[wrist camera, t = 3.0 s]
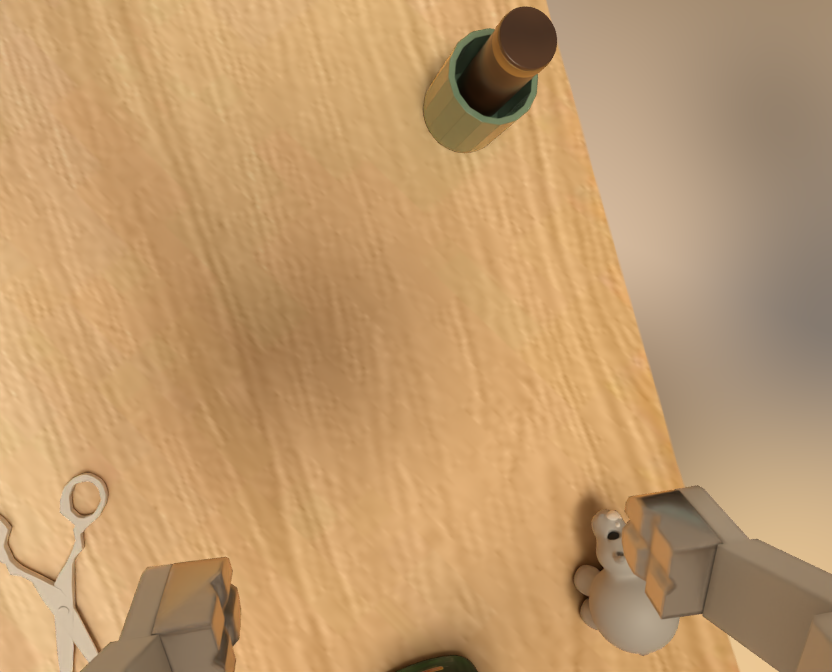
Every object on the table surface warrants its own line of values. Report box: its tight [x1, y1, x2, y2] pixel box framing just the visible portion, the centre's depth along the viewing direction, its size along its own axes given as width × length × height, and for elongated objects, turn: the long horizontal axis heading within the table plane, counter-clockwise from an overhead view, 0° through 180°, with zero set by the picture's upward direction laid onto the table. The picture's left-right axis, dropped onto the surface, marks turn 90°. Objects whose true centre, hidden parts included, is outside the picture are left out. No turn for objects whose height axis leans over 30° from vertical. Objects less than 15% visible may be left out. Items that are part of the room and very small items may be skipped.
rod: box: [456, 7, 557, 117], centre depth 45 cm, size 4×4×13 cm
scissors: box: [0, 473, 108, 672], centre depth 44 cm, size 11×1×20 cm
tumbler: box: [423, 28, 538, 153], centre depth 48 cm, size 7×7×8 cm
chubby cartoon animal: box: [574, 509, 680, 656], centre depth 51 cm, size 7×12×8 cm, turn 10°
